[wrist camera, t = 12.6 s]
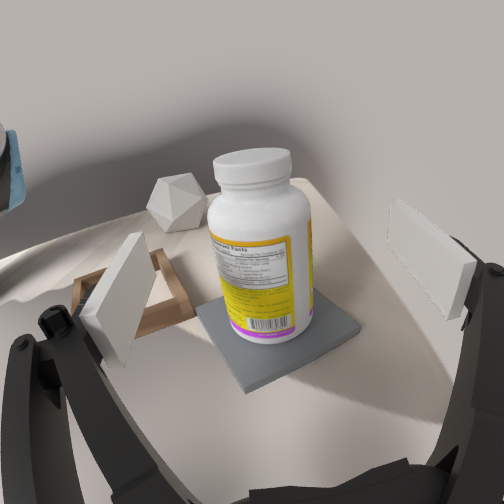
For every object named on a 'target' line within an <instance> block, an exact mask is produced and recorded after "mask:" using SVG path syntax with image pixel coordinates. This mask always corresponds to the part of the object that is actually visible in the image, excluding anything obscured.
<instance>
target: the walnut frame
mask: <svg viewBox="0 0 504 504" xmlns="http://www.w3.org/2000/svg"><path fill="white" fill-rule="evenodd" d="M149 254H150V257H151V260H152V263H153V267H154V270H155V271H156V270H159V269H161V271H162V274H163V276H164V278H165V280H166V282H167V285H168V287H169V289H170V291H171V293H172V295H173V297H174V298H172V299H169V300H167V301H164V302H161V303H158V304H156V305H153V306H150V307H147V308H145V309H144V311H143V314H142V317H141V320H140V323H139V326H138V329H137V332H136V335H135V338H134V339H136V338H139V337H142V336H144V335H147V334H150V333H153V332H155V331H158V330H160V329H163V328H166V327H169V326H171V325H174V324H177V323H179V322H182V321H185V320H187V319H190V318H192V317H195V315H194V312H193V309H192V305H191V302H190V299H189V297H188V295H187V294H186V292H185V290H184V288H183V286H182V284H181V283H180V281H179V279H178V277H177V275H176V273H175V272H174V270H173V268H172V266H171V264H170V262H169V260H168V258H167V256H166V254H165V253H164V251H163V249H162V248H161V249H158V250H155V251H152V252H149ZM106 269H107V268H104V269H101V270H99V271H96V272H93V273H90V274H88V275H85V276H82V277H79V278H77V279H74V286H73V297H72V308H71V316H72V314H73V313H74V311H75V309H76V308H77V306H78V305H79V302H80V301H81V299H83V296H84V294H85V293H86V291H87V290H88V289H89V288H90V287H91V286H92V285H93V284H95V283H98V282H99V280H100V279H101V277H102V275H103V274H104V272H105V271H106Z"/></svg>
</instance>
